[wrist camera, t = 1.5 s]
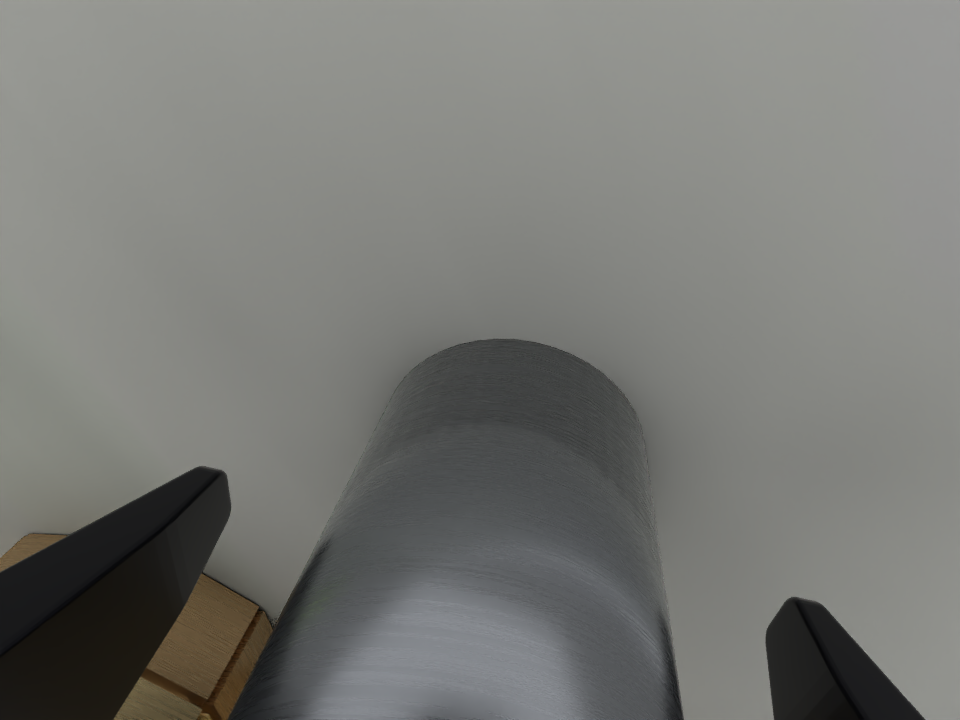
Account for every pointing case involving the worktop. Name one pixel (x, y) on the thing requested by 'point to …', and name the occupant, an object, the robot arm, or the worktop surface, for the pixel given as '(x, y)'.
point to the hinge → (189, 651)
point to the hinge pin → (483, 559)
